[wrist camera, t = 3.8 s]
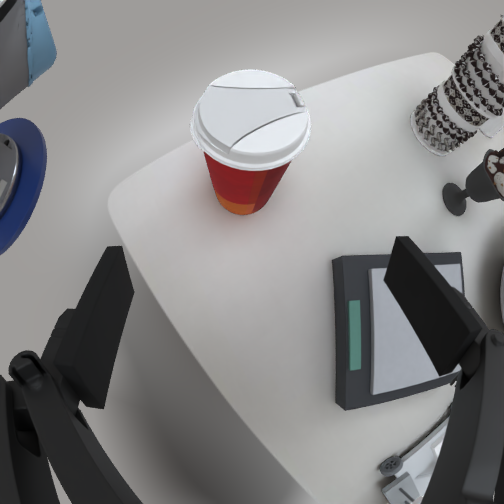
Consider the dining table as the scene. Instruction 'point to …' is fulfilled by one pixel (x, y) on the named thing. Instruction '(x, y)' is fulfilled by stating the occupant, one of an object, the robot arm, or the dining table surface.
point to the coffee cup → (249, 135)
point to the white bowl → (502, 295)
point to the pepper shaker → (493, 125)
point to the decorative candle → (464, 96)
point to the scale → (381, 333)
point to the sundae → (478, 184)
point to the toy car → (413, 469)
